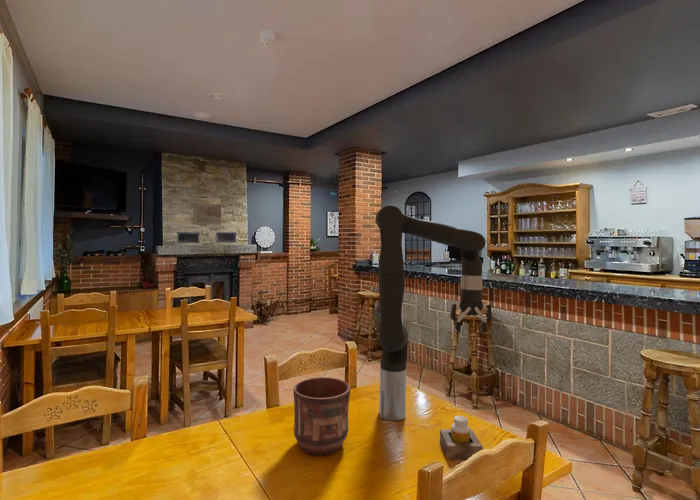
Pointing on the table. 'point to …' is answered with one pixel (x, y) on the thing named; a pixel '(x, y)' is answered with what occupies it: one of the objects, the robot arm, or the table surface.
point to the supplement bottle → (460, 430)
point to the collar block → (459, 446)
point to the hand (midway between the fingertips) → (470, 332)
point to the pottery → (321, 414)
